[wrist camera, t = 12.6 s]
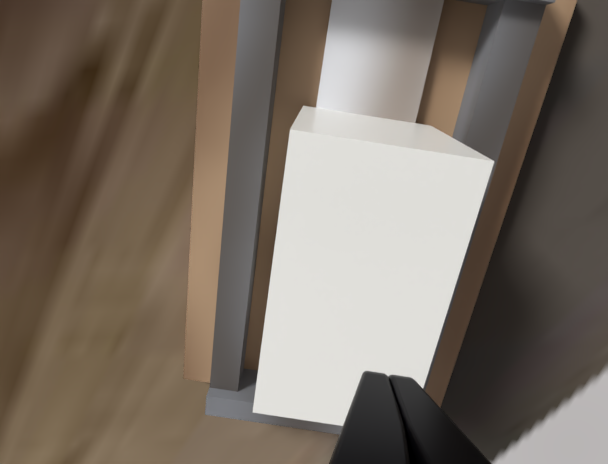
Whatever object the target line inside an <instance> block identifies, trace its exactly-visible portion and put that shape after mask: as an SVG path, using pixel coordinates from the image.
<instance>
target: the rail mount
mask: <svg viewBox="0 0 608 464" xmlns="http://www.w3.org/2000/svg"><path fill="white" fill-rule="evenodd" d="M576 2H577V0H202V19H201V39H200V58H199V78H198V98H197V118H196V137H195V157H194V177H193V197H192V216H191V236H190V256H189V275H188V295H187V315H186V335H185V354H184V374H183V379H188V380H195V381H202V382H209V383H210V388H209V391H208V393H207V397H206V410H205V415H212V416H218V417H225V418H232V419H239V420H245V421H252V422H259V423H266V424H272V425H279V426H286V427H293V428H300V429H306V430H313V431H320V432H327V433H333V434H340V433H341V430H342V427H343V426H340V425H333V424H326V423H320V422H313V421H306V420H300V419H293V418H286V417H280V416H273V415H266V414H260V413H253V405H254V397H255V390H256V382H257V374H258V367H259V359H260V352H261V344H262V337H263V329H264V322H265V314H266V307H267V299H268V292H269V284H270V276H271V269H272V261H273V254H274V246H275V239H276V231H277V224H278V216H279V209H280V201H281V193H282V186H283V178H284V171H285V163H286V156H287V148H288V141H289V133H290V128H291V127H292V125H293V123H294V121H295V119H296V118H297V116H298V114H299V112H300V111H301V109H302V107H303V106H309V107H315V108H322V109H328V110H334V111H341V112H347V113H354V114H360V115H366V116H373V117H379V118H385V119H392V120H398V121H405V122H411V123H417V124H424V125H430V126H432V127H434V128H436V129H438V130H440V131H441V132H443V133H445V134H447V135H448V136H450V137H452V138H454V139H456V140H457V141H459V142H461V143H463V144H465V145H466V146H468V147H470V148H472V149H473V150H475V151H477V152H479V153H481V154H482V155H484V156H486V157H488V158H489V159H491V160H493V161H494V164H493V167H492V171H491V174H490V177H489V180H488V183H487V187H486V190H485V193H484V196H483V199H482V203H481V206H480V209H479V212H478V215H477V218H476V222H475V225H474V228H473V231H472V234H471V238H470V241H469V244H468V247H467V250H466V254H465V257H464V260H463V263H462V266H461V269H460V273H459V276H458V279H457V282H456V285H455V289H454V292H453V295H452V298H451V301H450V305H449V308H448V311H447V314H446V317H445V320H444V324H443V327H442V330H441V333H440V336H439V340H438V343H437V346H436V349H435V352H434V356H433V359H432V362H431V365H430V368H429V371H428V375H427V378H426V381H425V384H424V387H423V389H424V391H425V392H426V393H427V394H428V395H429V396H430V397H431V398H432V399H433V400H434V401H435V403H436V404H437V405H438V406H439V407H441V404H442V401H443V398H444V395H445V392H446V389H447V386H448V383H449V380H450V377H451V374H452V371H453V368H454V365H455V362H456V359H457V356H458V354H459V351H460V348H461V345H462V342H463V339H464V336H465V333H466V330H467V327H468V324H469V321H470V318H471V315H472V312H473V309H474V306H475V303H476V300H477V297H478V294H479V291H480V288H481V285H482V282H483V279H484V276H485V273H486V270H487V267H488V264H489V261H490V258H491V255H492V252H493V249H494V246H495V243H496V240H497V237H498V234H499V232H500V229H501V226H502V223H503V220H504V217H505V214H506V211H507V208H508V205H509V202H510V199H511V196H512V193H513V190H514V187H515V184H516V181H517V178H518V175H519V172H520V169H521V166H522V163H523V160H524V157H525V154H526V151H527V148H528V145H529V142H530V139H531V136H532V133H533V130H534V127H535V124H536V121H537V118H538V115H539V112H540V110H541V107H542V104H543V101H544V98H545V95H546V92H547V89H548V86H549V83H550V80H551V77H552V74H553V71H554V68H555V65H556V62H557V59H558V56H559V53H560V50H561V47H562V44H563V41H564V38H565V35H566V32H567V29H568V26H569V23H570V20H571V17H572V14H573V11H574V8H575V5H576Z"/></svg>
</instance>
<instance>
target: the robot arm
mask: <svg viewBox="0 0 608 464" xmlns="http://www.w3.org/2000/svg"><path fill="white" fill-rule="evenodd" d="M329 464H491V463H490V462H489V460H488V459H487V458H486V457H485V456H484V455H483V454H482V453H481V452H480V451H479V450H478V448H477V447H476V446H475V445H474V444H473V443H472V442H471V441H470V440H469V439H468V438H467V436H466V435H465V434H464V433H463V432H462V431H461V430H460V429H459V428H458V427H457V426H456V424H455V423H454V422H453V421H452V420H451V419H450V418H449V417H448V416H447V415H446V413H445V412H444V411H443V410H442V409H441V408H440V407H439V406H438V405H437V404H436V403H435V401H434V400H433V399H432V398H431V397H430V396H429V395H428V394H427V393H426V392H425V391H424V389H423V388H422V387H421V386H420V385H419V384H418V383H417V382H416V381H415V380H414V379H413V378H411V377H406V376H399V375H393V374H392V375H389V376H387V375H386V374H384V373H379V372H373V371H364V372H363V374H362V376H361V379H360V381H359V384H358V387H357V389H356V392H355V395H354V397H353V400H352V403H351V406H350V408H349V411H348V414H347V416H346V419H345V422H344V424H343V427H342V430H341V433H340V435H339V438H338V441H337V443H336V446H335V449H334V451H333V454H332V457H331V460H330V462H329Z"/></svg>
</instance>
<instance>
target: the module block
mask: <svg viewBox="0 0 608 464" xmlns="http://www.w3.org/2000/svg"><path fill="white" fill-rule="evenodd" d="M493 164H494V161H493V160H491V159H489V158H488V157H486V156H484V155H482V154H481V153H479V152H477V151H475V150H473V149H472V148H470V147H468V146H466V145H465V144H463V143H461V142H459V141H457V140H456V139H454V138H452V137H450V136H448V135H447V134H445V133H443V132H441V131H440V130H438V129H436V128H434V127H432V126H430V125H424V124H417V123H411V122H405V121H398V120H392V119H385V118H379V117H373V116H366V115H360V114H354V113H347V112H341V111H334V110H328V109H322V108H315V107H309V106H303V107H302V109H301V111H300V112H299V114H298V116H297V118H296V119H295V121H294V123H293V125H292V127H291V128H290V133H289V141H288V148H287V156H286V163H285V171H284V178H283V186H282V193H281V201H280V209H279V216H278V224H277V231H276V239H275V246H274V254H273V261H272V269H271V276H270V284H269V292H268V299H267V307H266V314H265V322H264V329H263V337H262V344H261V352H260V359H259V367H258V374H257V382H256V390H255V397H254V405H253V413H260V414H266V415H273V416H280V417H286V418H293V419H300V420H306V421H313V422H320V423H326V424H333V425H340V426H343V424H344V422H345V419H346V416H347V414H348V411H349V408H350V406H351V403H352V400H353V397H354V395H355V392H356V389H357V387H358V384H359V381H360V379H361V376H362V374H363V372H364V371H373V372H379V373H384V374H386V375H387V376H389V375H392V374H393V375H399V376H406V377H411V378H413V379H414V380H415V381H416V382H417V383H418V384H419V385H420V386H421V387H422V388H423V387H424V384H425V381H426V378H427V375H428V371H429V368H430V365H431V362H432V359H433V356H434V352H435V349H436V346H437V343H438V340H439V336H440V333H441V330H442V327H443V324H444V320H445V317H446V314H447V311H448V308H449V305H450V301H451V298H452V295H453V292H454V289H455V285H456V282H457V279H458V276H459V273H460V269H461V266H462V263H463V260H464V257H465V254H466V250H467V247H468V244H469V241H470V238H471V234H472V231H473V228H474V225H475V222H476V218H477V215H478V212H479V209H480V206H481V203H482V199H483V196H484V193H485V190H486V187H487V183H488V180H489V177H490V174H491V171H492V167H493Z"/></svg>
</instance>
